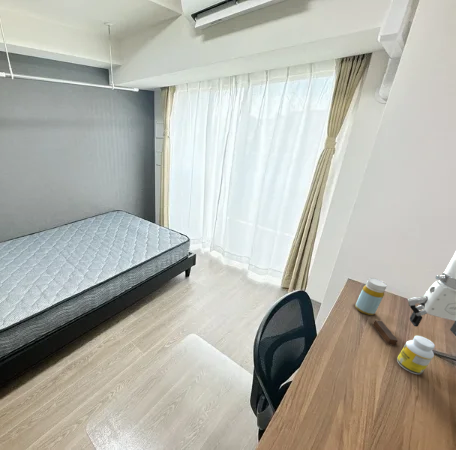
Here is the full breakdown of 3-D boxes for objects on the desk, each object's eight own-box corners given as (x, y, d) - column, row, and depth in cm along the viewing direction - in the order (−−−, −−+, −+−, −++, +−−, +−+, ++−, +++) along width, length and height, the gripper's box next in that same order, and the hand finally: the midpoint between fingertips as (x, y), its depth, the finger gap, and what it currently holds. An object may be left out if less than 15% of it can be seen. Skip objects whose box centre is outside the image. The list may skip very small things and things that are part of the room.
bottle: (372, 308, 109) (386, 280, 104) (376, 318, 104) (390, 289, 98) (353, 302, 113) (365, 275, 107) (356, 311, 107) (368, 283, 101)
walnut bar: (372, 324, 100) (375, 319, 99) (379, 325, 100) (382, 321, 99) (387, 343, 91) (390, 338, 90) (395, 345, 91) (398, 340, 90)
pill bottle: (397, 354, 87) (412, 330, 82) (423, 367, 82) (439, 342, 78) (394, 364, 83) (409, 339, 79) (421, 379, 78) (438, 353, 74)
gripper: (427, 282, 70) (403, 327, 76) (515, 299, 63) (480, 347, 70) (414, 269, 76) (393, 312, 83) (493, 283, 70) (463, 329, 76)
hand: (433, 328), depth 76 cm, fingers open, 9 cm apart
